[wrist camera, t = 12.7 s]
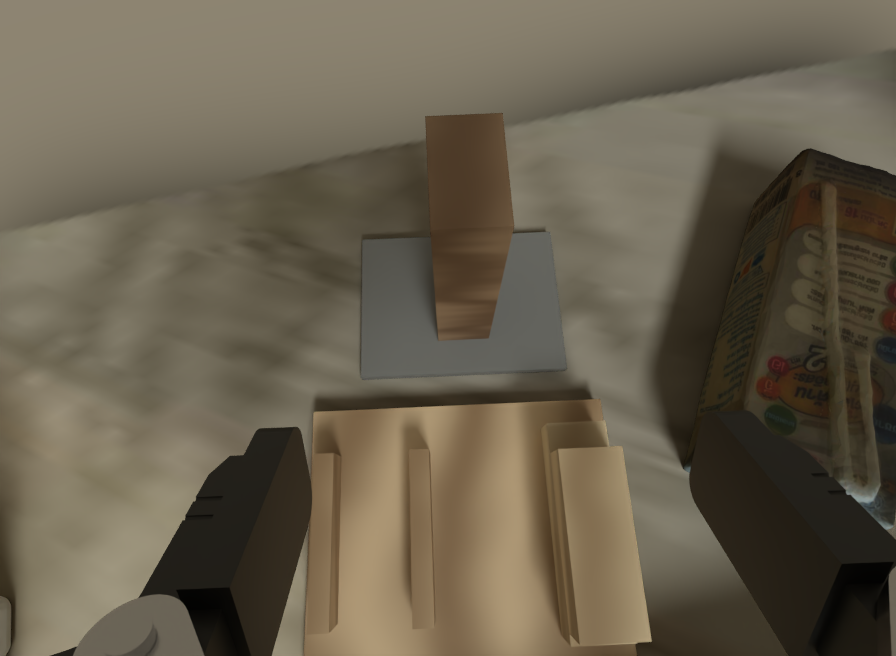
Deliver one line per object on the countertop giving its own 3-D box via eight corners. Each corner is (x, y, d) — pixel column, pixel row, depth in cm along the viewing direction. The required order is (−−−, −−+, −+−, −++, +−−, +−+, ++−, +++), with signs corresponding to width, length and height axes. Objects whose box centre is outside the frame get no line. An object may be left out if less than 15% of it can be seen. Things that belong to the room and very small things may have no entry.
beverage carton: (669, 470, 29) (729, 459, 23) (746, 199, 35) (810, 132, 29) (813, 530, 28) (917, 536, 22) (867, 240, 34) (961, 180, 27)
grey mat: (548, 236, 34) (550, 231, 33) (564, 370, 31) (567, 368, 30) (363, 244, 33) (362, 239, 33) (362, 379, 31) (360, 377, 30)
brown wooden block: (482, 262, 32) (502, 113, 20) (488, 338, 31) (514, 226, 18) (434, 264, 32) (425, 116, 20) (438, 340, 31) (430, 230, 18)
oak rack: (594, 403, 30) (622, 382, 25) (630, 661, 26) (672, 697, 21) (318, 415, 30) (293, 397, 25) (309, 677, 26) (275, 717, 21)
